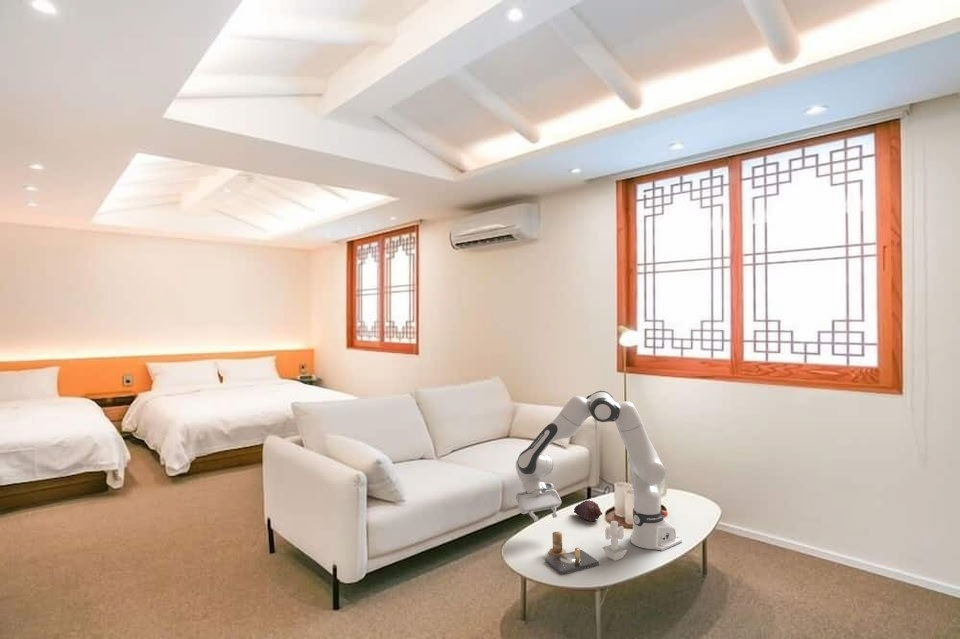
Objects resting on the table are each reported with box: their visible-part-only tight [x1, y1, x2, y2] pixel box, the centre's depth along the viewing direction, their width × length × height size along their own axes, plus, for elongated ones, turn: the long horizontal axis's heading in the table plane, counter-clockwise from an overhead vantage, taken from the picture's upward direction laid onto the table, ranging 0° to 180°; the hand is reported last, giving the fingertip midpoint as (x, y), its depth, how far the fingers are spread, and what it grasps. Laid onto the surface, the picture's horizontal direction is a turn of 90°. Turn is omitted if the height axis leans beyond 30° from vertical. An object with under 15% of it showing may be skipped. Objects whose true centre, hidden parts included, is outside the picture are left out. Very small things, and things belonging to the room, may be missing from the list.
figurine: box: [602, 520, 628, 562], centre depth 220 cm, size 7×9×15 cm
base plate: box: [544, 549, 600, 576], centre depth 215 cm, size 18×12×2 cm, turn 115°
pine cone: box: [573, 499, 603, 522], centre depth 262 cm, size 18×10×10 cm
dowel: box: [574, 547, 581, 565], centre depth 212 cm, size 2×2×6 cm
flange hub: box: [548, 531, 567, 557], centre depth 225 cm, size 7×7×8 cm
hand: (546, 518), depth 233 cm, fingers open, 8 cm apart
